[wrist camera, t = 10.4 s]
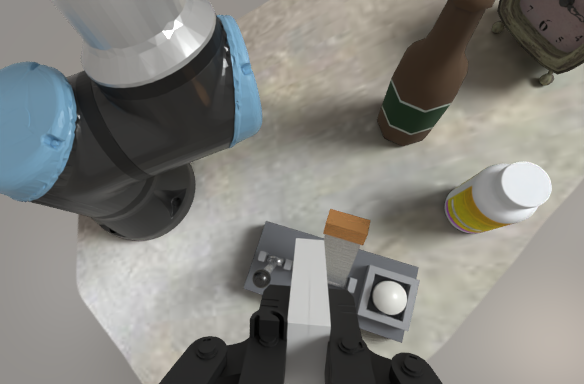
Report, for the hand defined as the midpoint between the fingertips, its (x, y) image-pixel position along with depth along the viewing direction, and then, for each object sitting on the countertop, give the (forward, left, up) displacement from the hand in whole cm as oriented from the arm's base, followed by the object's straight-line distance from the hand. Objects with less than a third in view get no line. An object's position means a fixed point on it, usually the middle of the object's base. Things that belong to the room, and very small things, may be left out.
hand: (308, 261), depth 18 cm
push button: (+7, -6, -23) cm, 25 cm away
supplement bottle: (+22, -1, -27) cm, 35 cm away
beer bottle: (+20, +14, -27) cm, 37 cm away
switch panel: (+1, -2, -27) cm, 27 cm away
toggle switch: (-4, +3, -23) cm, 24 cm away
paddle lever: (+1, -2, -23) cm, 23 cm away
